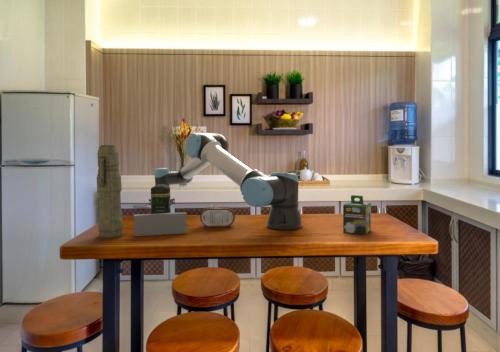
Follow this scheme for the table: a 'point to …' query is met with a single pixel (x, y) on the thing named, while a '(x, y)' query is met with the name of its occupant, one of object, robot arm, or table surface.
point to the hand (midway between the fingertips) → (161, 206)
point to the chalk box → (357, 216)
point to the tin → (217, 216)
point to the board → (160, 224)
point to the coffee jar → (160, 199)
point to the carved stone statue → (109, 192)
